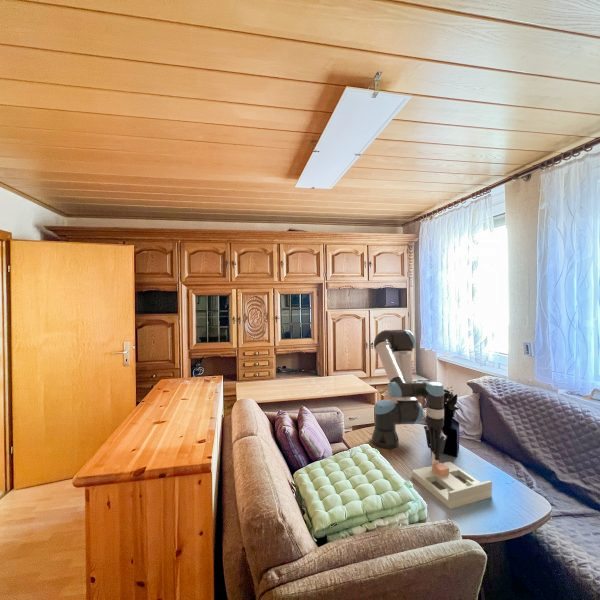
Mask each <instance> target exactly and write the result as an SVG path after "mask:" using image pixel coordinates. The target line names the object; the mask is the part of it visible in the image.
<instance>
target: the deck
mask: <svg viewBox="0 0 600 600" xmlns="http://www.w3.org/2000/svg"><path fill="white" fill-rule="evenodd" d="M441 463H442V462H441ZM442 464H444V465H445V466H447V467H448V468H449V475H446V476H442V477H440V476H438V475H437V474H436V473H435V472H433V471H432V465H430V466H429V465H428V466H426V467H425V466H424V467H420V468H417V469H412V470H411V476H412V477H411V478H413V479H414V480H415V481H417V482H418V483H419V484H420V485H421V486H422V487H424V488H425V489H426V490H427V491H429V493H431V494H432V495H433V496H434V497H435V498H437V499H438V500H439V501H440V502H441V503H442V504H443V505H445V506H446V507H447V508H448V509H450V510H452V509H455V508H459V507H463V506H466V505H469V504H472V503H476V502H479V501H482V500H486V499H489V498H492V497H493V495H492V494H493V493H492V492H493V488H492V487H493V483H492V480H486V481H482V482H481V481H479V480H478V479H477V478H475V477H473V476H472V475H470V474H469V473H467V471H464V470H463V469H461V468H460V467H458V466H457V465H455V464H454V463H452V462H451V461H446V462H445V461H444V462H443V463H442Z"/></svg>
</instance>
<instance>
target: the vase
mask: <svg viewBox="0 0 600 600" xmlns="http://www.w3.org/2000/svg"><path fill="white" fill-rule="evenodd" d="M452 388H453V387H452V386H450V387H446V388H444V417H443V418H444V426H443V427H442V429H443V433H444V435H446V436H447V437H448V438H447V439H446V442H445V447H444V451H443V453H442V455H444V456H445V455H446V456H451V457H454V458H458V455H459V451H460V422H459V420H456V419H455V415H456V414H455V413H456V411H458V410H460V407H458V406H456V405H457V403H458V394H454V393H453V391H454V390H453V389H452ZM449 389H451V390H449Z"/></svg>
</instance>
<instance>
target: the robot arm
mask: <svg viewBox="0 0 600 600" xmlns="http://www.w3.org/2000/svg"><path fill="white" fill-rule="evenodd" d="M415 347H416V338H415V335H414V334H413V332H412V331H411V330H409V329H384V330H381V331H380V332H378V333H377V335H376V336H375V338H374V340H373V348H374V350H375V353H376V354H378V357H379V359H380V361H381V364H382V366H383V369H384V372H385V374H386V377H387V379H388V383H387V392H388V395H389V397H391V398H393V399H394V398H395V399H396V401H394V400H392V399H380V400H378V401H377V402H375V404H374V410H373V412H374V428H373V433H372V435H371V442H372V444H373V445H374V446H376V447H378V448H381V449H388V450H389V449H395V448H398V446H399V444H400V439H399V436H398V433H397V428H396V426H397V425H398V426H399V425H418V424H420V423H421V422H422V420H423V418H424V408H423V405H422V403H421V402H419V399H418V398H424V399H425V400H426V424H427V425H424V426H423V429H424V431H425V438H426V444H427V445H426V446H427V448H428V449H429V450H430V457H431V465H432V464H437V463H440V462H439V461H440V455H441V454H442V453H443V451H444V447H445V442H446V439H447V438H448V437H447V436H446V435H444V433H443V429H442V427H443V426H444V418H443V417H444V389H445V388H444V387H445V386H444V385H443V384H442V383H441V382H438V381H428V380H426V379H421V378H419V379H417V380H416V381H414V379H413V370H412V361H411V354H412V353H413V350H414V349H415ZM442 455H443V454H442Z"/></svg>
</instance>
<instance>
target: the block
mask: <svg viewBox="0 0 600 600" xmlns="http://www.w3.org/2000/svg"><path fill="white" fill-rule="evenodd" d="M431 466H432V471H433V472H435V473H436V474H437V475H438V476H440V477H442V476H446V475H449V468H448V467H447V466H445V465H444V464H442V462H439V463H437V464H432V463H431Z"/></svg>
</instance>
